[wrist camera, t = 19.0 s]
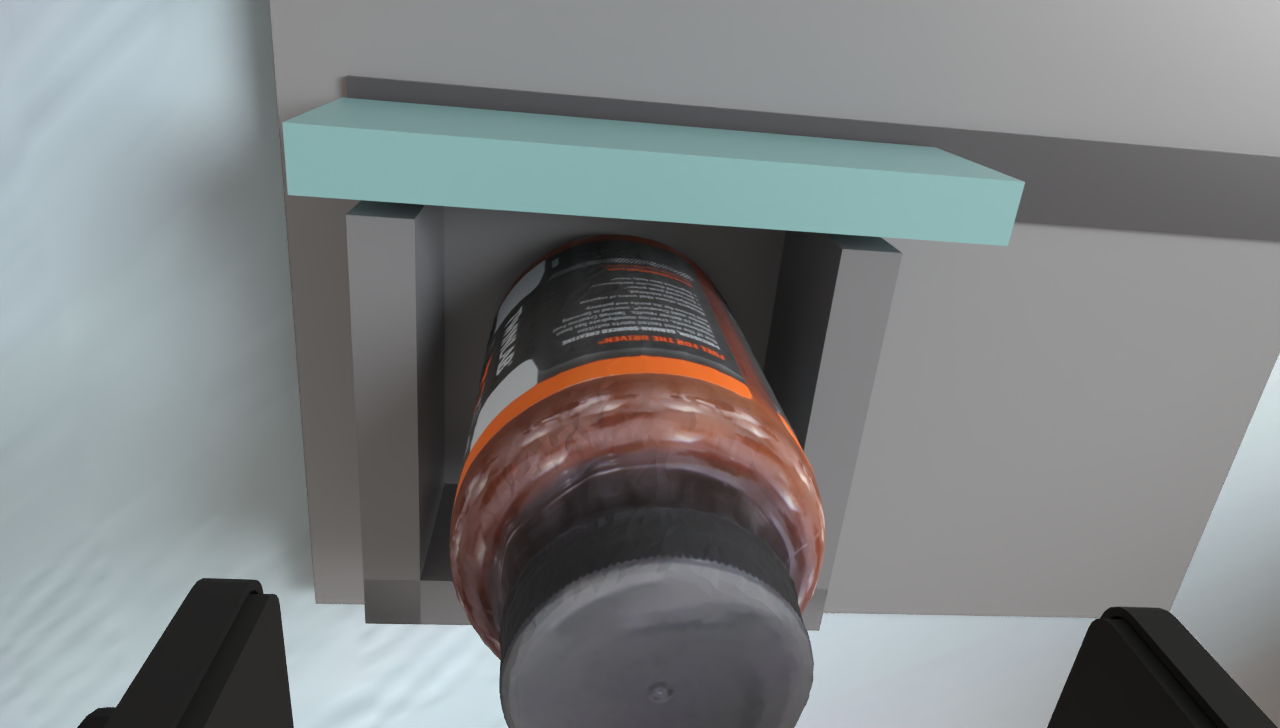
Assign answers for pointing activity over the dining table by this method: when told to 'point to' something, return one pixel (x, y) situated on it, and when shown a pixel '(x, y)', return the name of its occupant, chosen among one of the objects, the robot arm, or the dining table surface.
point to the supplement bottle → (634, 503)
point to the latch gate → (643, 172)
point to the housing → (836, 279)
